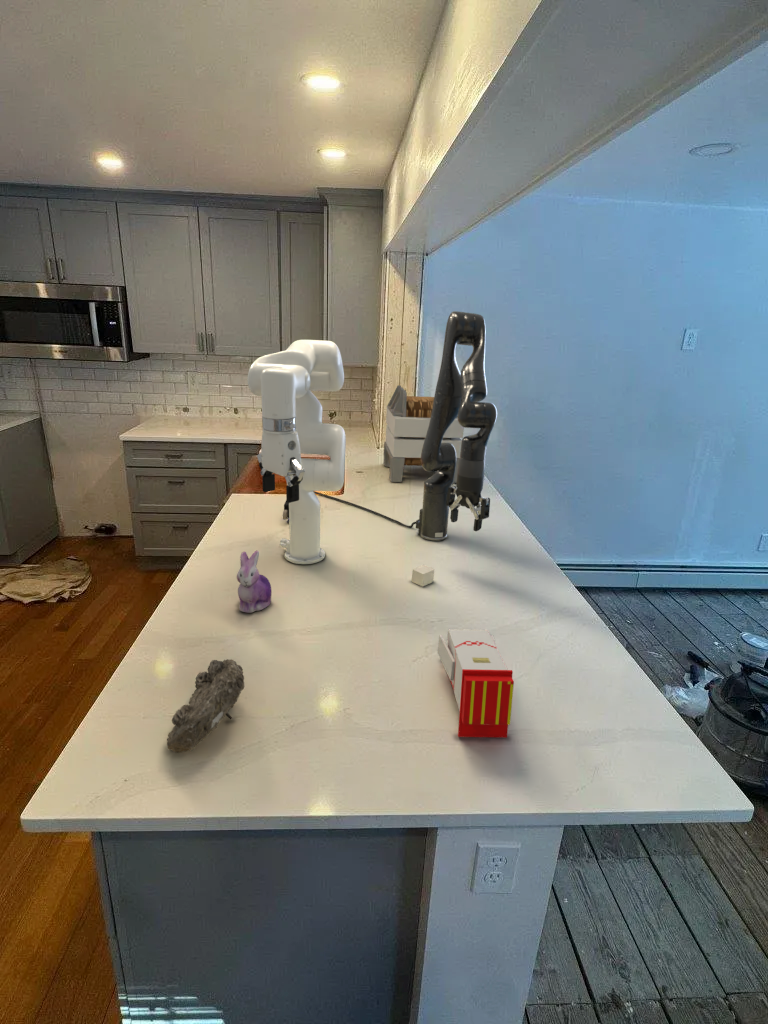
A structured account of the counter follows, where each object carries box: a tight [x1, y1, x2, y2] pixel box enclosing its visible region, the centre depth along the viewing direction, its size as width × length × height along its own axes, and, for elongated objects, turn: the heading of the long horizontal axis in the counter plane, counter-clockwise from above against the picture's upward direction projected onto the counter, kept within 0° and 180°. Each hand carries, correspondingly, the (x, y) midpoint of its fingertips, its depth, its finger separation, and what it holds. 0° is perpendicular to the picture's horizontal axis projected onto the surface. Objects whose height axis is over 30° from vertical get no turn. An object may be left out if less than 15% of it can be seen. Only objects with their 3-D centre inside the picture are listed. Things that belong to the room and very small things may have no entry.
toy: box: [437, 628, 515, 738], centre depth 117 cm, size 12×13×30 cm
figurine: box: [236, 550, 272, 614], centre depth 146 cm, size 9×10×15 cm
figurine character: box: [282, 500, 289, 524], centre depth 208 cm, size 7×8×15 cm
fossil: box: [166, 658, 245, 754], centre depth 106 cm, size 22×10×15 cm
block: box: [411, 564, 435, 588], centre depth 165 cm, size 4×5×4 cm
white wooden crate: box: [383, 384, 465, 484], centre depth 268 cm, size 34×33×41 cm
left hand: (280, 496), depth 134 cm, fingers open, 9 cm apart
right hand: (465, 526), depth 166 cm, fingers open, 8 cm apart
